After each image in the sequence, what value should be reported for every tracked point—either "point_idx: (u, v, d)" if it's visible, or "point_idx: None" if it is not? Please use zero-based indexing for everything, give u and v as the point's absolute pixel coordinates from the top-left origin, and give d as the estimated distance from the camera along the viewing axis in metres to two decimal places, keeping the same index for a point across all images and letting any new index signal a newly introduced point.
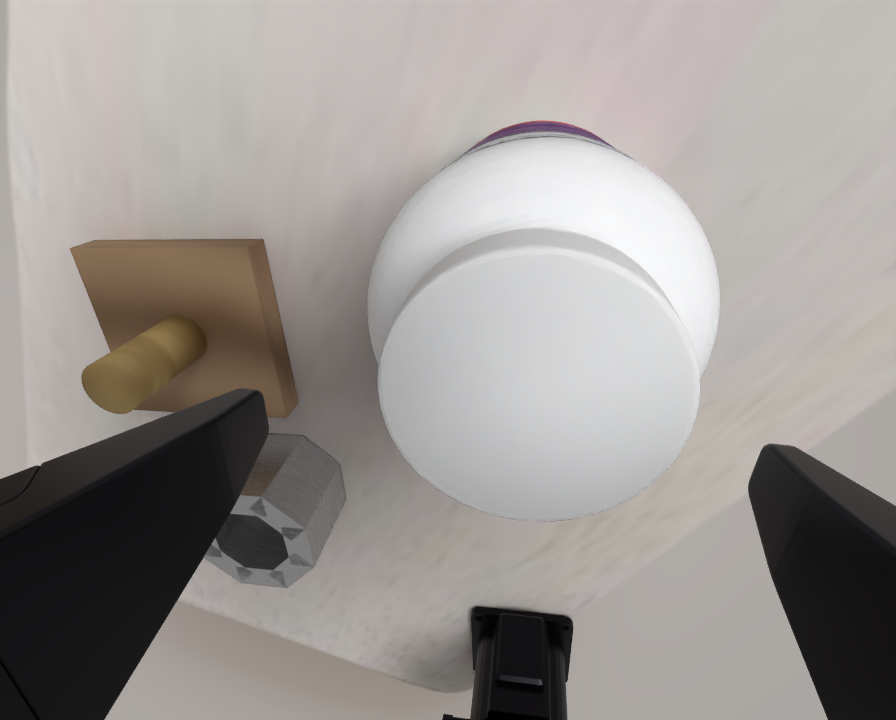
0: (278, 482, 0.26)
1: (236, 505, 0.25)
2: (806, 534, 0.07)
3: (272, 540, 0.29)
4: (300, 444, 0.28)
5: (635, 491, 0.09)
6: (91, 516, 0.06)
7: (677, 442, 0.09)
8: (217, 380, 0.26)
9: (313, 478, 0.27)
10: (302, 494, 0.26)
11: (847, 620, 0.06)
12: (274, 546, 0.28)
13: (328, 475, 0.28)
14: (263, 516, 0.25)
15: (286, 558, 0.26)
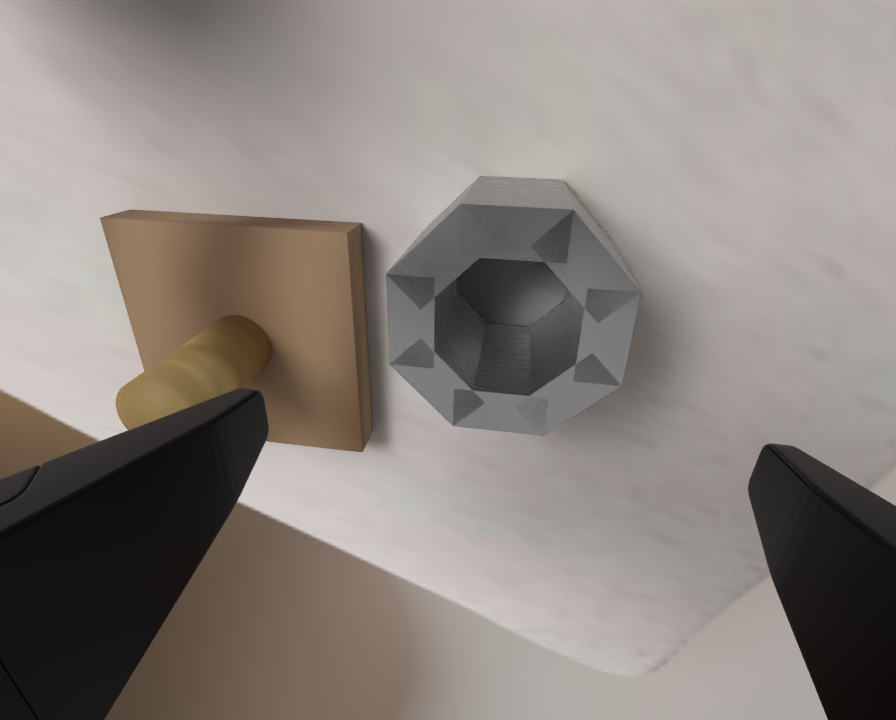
0: (405, 253, 0.14)
1: (412, 327, 0.14)
2: (806, 534, 0.07)
3: (574, 315, 0.15)
4: (422, 232, 0.17)
5: None
6: (91, 516, 0.06)
7: None
8: (297, 321, 0.18)
9: (450, 207, 0.15)
10: (441, 217, 0.14)
11: (847, 620, 0.06)
12: (576, 310, 0.15)
13: (469, 187, 0.16)
14: (434, 284, 0.13)
15: (552, 270, 0.13)
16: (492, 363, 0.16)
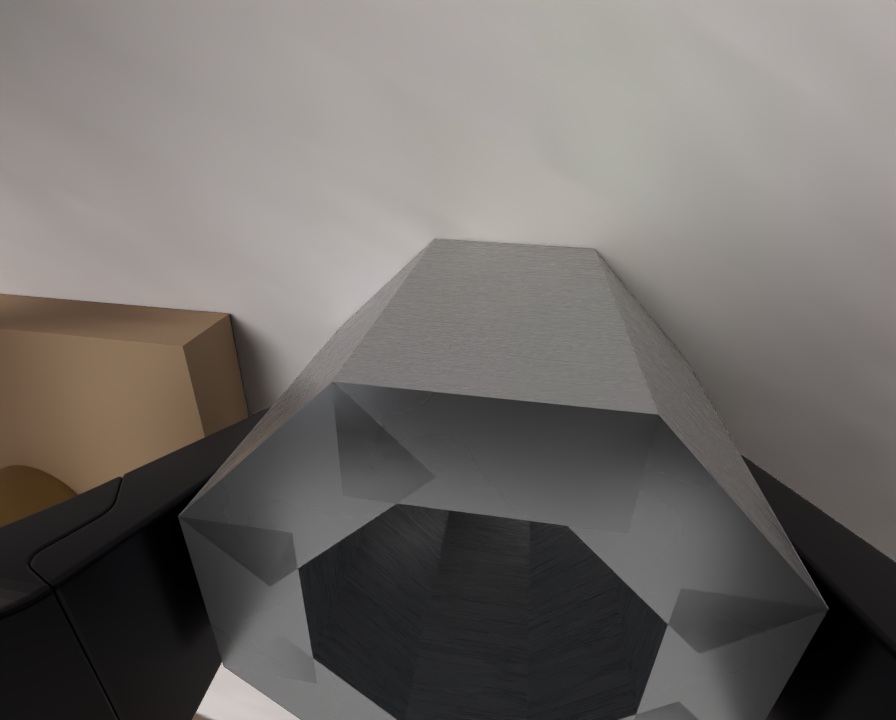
0: (254, 430, 0.06)
1: (259, 615, 0.06)
2: None
3: None
4: (331, 339, 0.09)
5: None
6: (179, 529, 0.06)
7: None
8: None
9: (364, 315, 0.07)
10: (328, 360, 0.06)
11: None
12: None
13: (408, 269, 0.08)
14: (292, 543, 0.05)
15: (588, 538, 0.05)
16: (456, 609, 0.08)
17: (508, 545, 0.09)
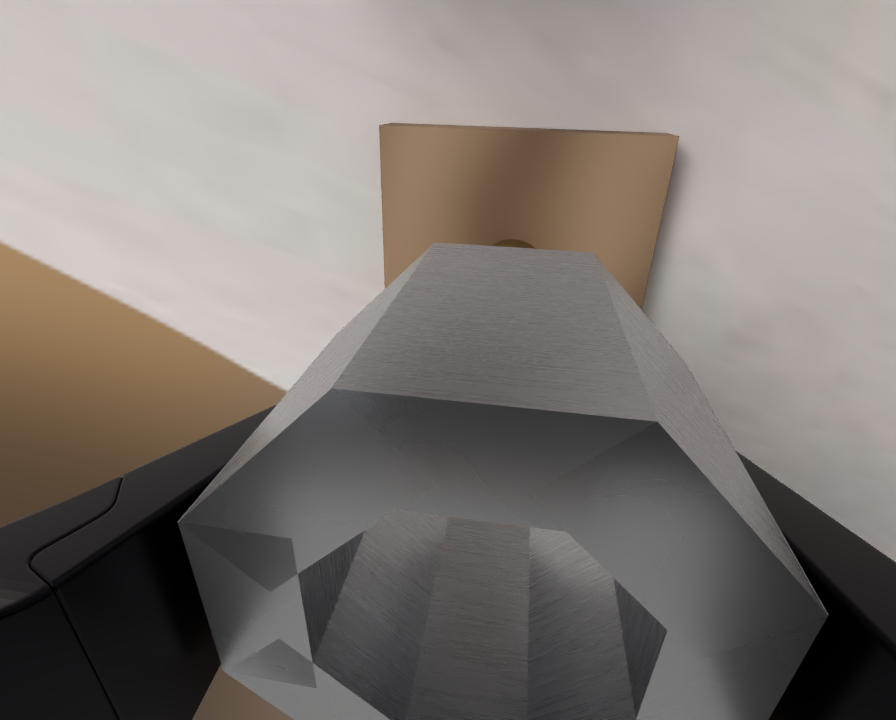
0: (254, 435, 0.06)
1: (259, 620, 0.06)
2: None
3: None
4: (330, 343, 0.09)
5: None
6: (179, 529, 0.06)
7: None
8: (587, 245, 0.16)
9: (364, 320, 0.07)
10: (327, 365, 0.06)
11: None
12: None
13: (408, 273, 0.08)
14: (291, 549, 0.05)
15: (588, 544, 0.05)
16: (456, 613, 0.08)
17: (508, 548, 0.09)
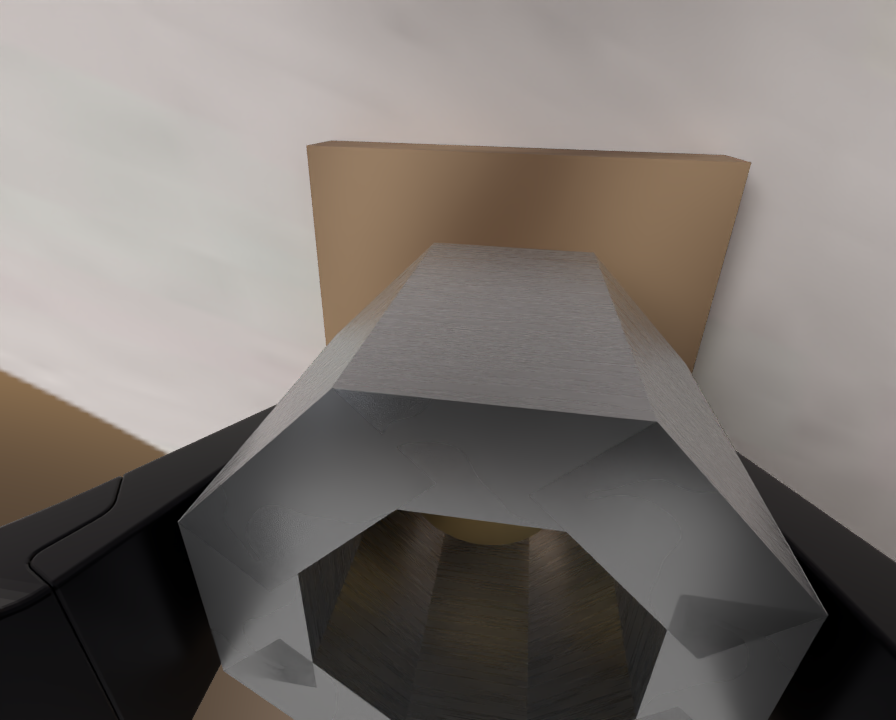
0: (254, 435, 0.06)
1: (259, 620, 0.06)
2: None
3: None
4: (331, 343, 0.09)
5: None
6: (179, 528, 0.06)
7: None
8: None
9: (364, 320, 0.07)
10: (328, 365, 0.06)
11: None
12: None
13: (408, 273, 0.08)
14: (292, 550, 0.05)
15: (587, 544, 0.05)
16: (456, 614, 0.08)
17: (508, 548, 0.09)
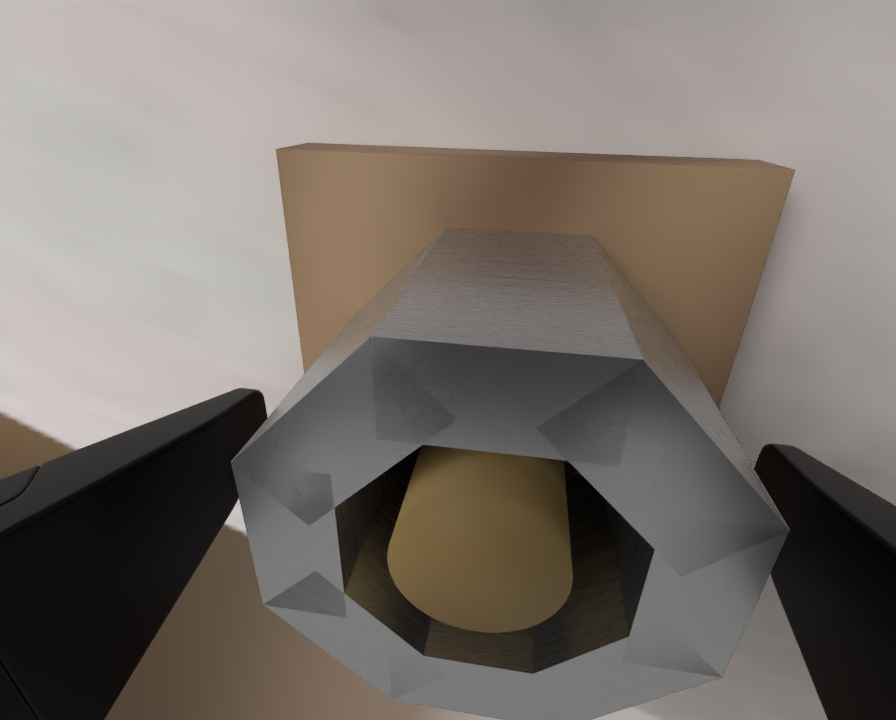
0: (291, 393, 0.07)
1: (298, 553, 0.07)
2: (806, 534, 0.07)
3: None
4: (351, 320, 0.10)
5: None
6: (91, 516, 0.06)
7: None
8: None
9: (386, 294, 0.08)
10: (357, 330, 0.07)
11: (847, 620, 0.06)
12: None
13: (424, 253, 0.09)
14: (330, 484, 0.06)
15: None
16: None
17: None
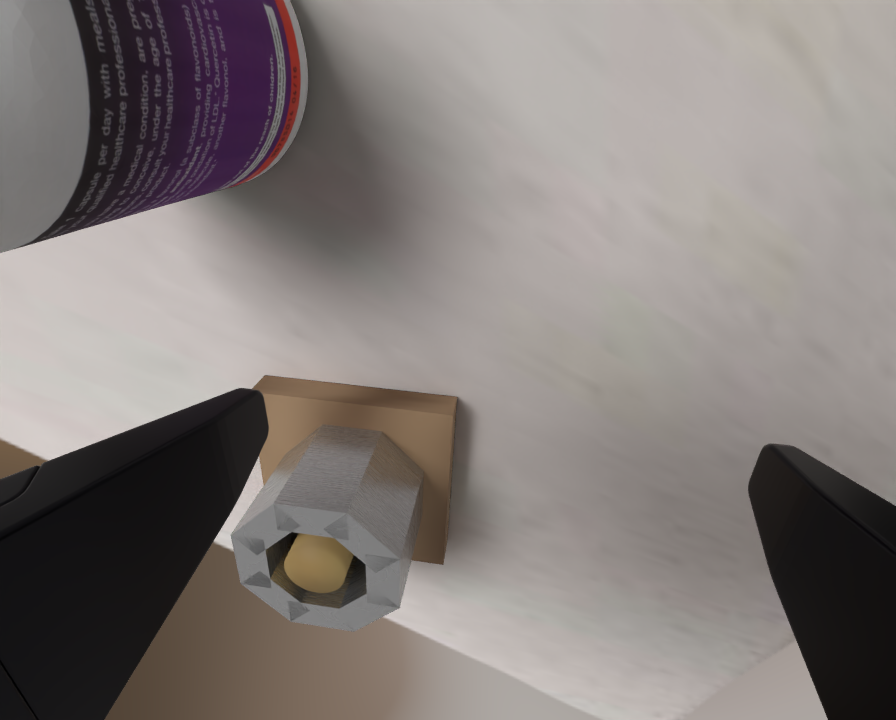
0: (252, 506, 0.20)
1: (253, 564, 0.20)
2: (806, 534, 0.07)
3: None
4: (282, 460, 0.23)
5: None
6: (91, 516, 0.06)
7: None
8: None
9: (291, 463, 0.21)
10: (276, 485, 0.20)
11: (847, 620, 0.06)
12: None
13: (308, 443, 0.21)
14: (263, 542, 0.19)
15: None
16: None
17: None
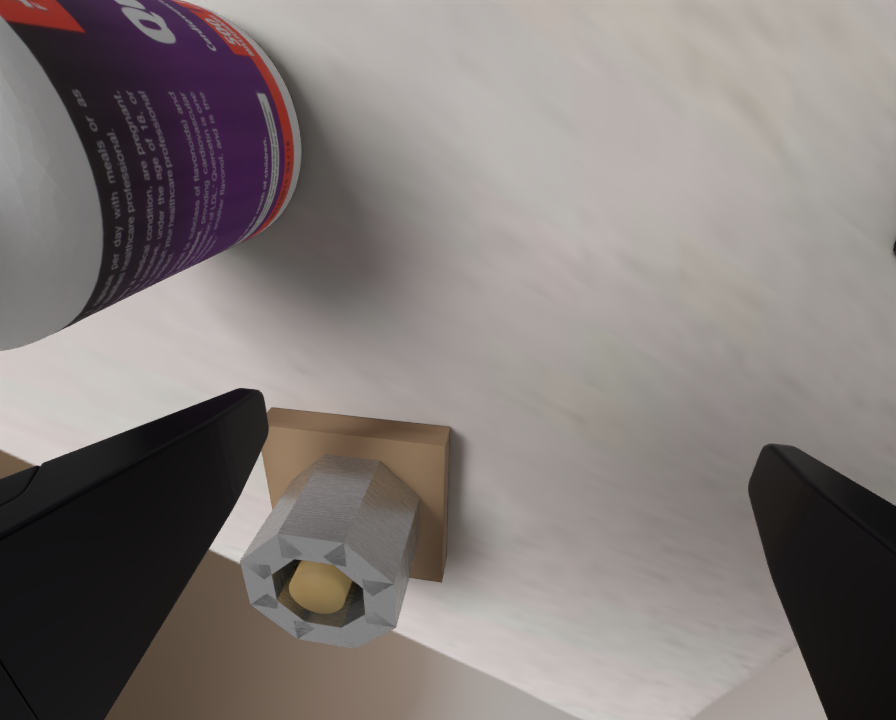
0: (259, 533, 0.22)
1: (261, 587, 0.21)
2: (806, 534, 0.07)
3: None
4: (288, 487, 0.24)
5: None
6: (91, 516, 0.06)
7: None
8: None
9: (295, 492, 0.22)
10: (280, 514, 0.21)
11: (847, 620, 0.06)
12: None
13: (311, 473, 0.23)
14: (269, 568, 0.21)
15: (340, 567, 0.20)
16: None
17: None
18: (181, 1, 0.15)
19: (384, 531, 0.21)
